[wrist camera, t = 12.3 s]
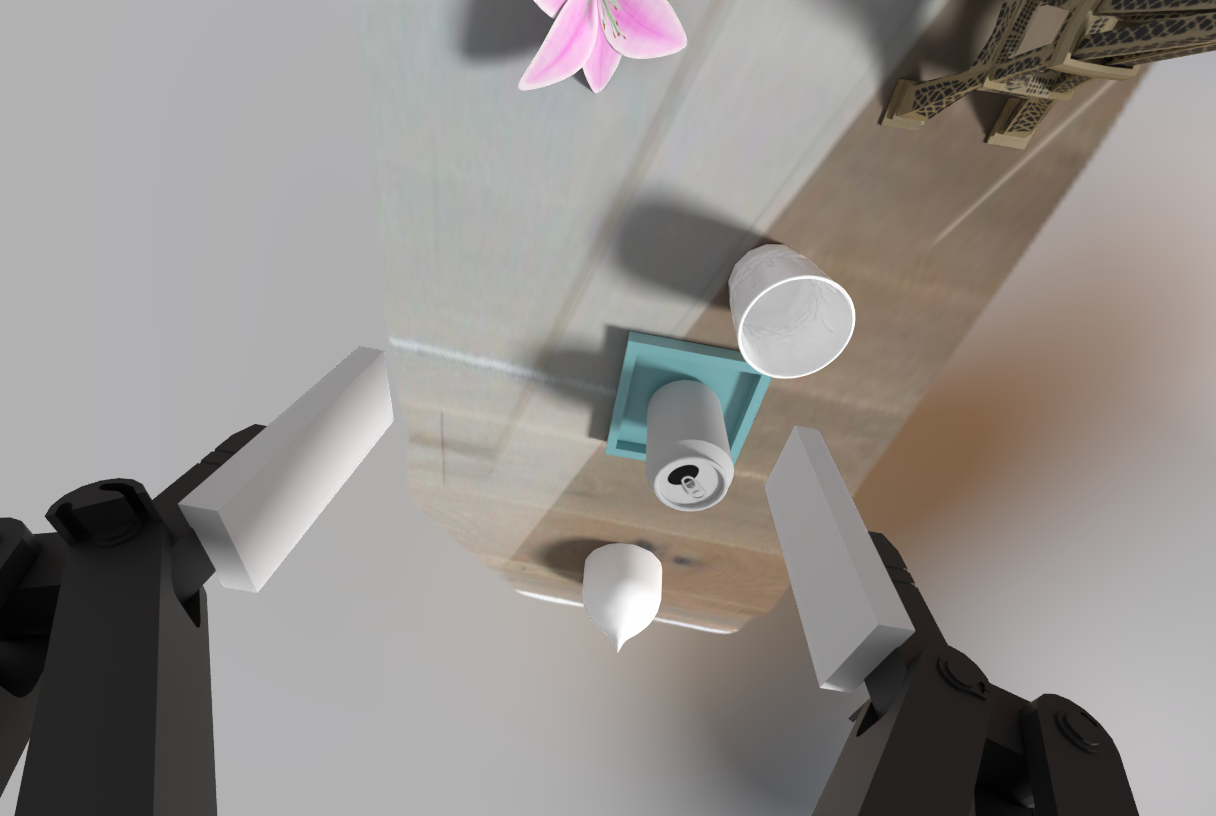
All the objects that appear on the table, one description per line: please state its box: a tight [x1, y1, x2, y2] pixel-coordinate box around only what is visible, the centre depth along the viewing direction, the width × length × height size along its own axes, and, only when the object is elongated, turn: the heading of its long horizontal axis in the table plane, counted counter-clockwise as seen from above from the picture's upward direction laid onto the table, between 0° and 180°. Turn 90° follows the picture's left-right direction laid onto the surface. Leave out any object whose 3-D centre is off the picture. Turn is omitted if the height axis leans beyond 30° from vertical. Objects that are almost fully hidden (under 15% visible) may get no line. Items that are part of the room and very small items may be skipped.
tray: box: [605, 331, 772, 467], centre depth 48 cm, size 14×14×2 cm
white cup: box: [728, 244, 855, 378], centre depth 36 cm, size 8×8×10 cm
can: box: [646, 380, 734, 511], centre depth 43 cm, size 8×8×12 cm
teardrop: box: [582, 543, 662, 652], centre depth 60 cm, size 11×11×12 cm
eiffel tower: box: [880, 0, 1216, 149], centre depth 20 cm, size 11×11×25 cm
